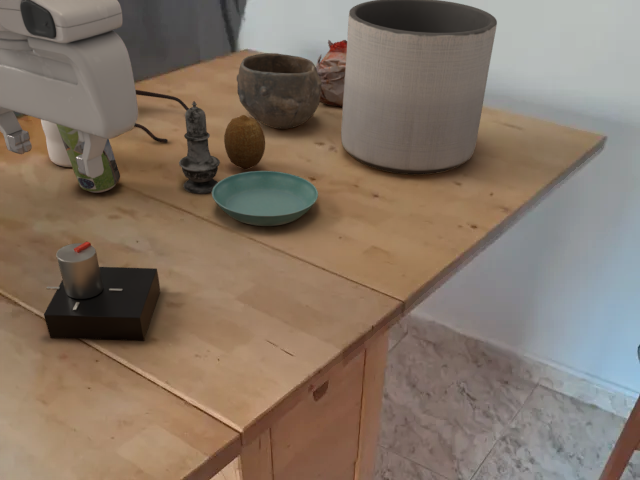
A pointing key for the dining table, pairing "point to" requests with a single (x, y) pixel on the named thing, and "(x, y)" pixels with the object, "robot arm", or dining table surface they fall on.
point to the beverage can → (108, 159)
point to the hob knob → (80, 270)
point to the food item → (333, 73)
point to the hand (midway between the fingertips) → (55, 162)
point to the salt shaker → (198, 154)
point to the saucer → (265, 197)
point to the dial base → (107, 307)
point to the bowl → (279, 89)
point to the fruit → (244, 142)
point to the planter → (415, 83)
